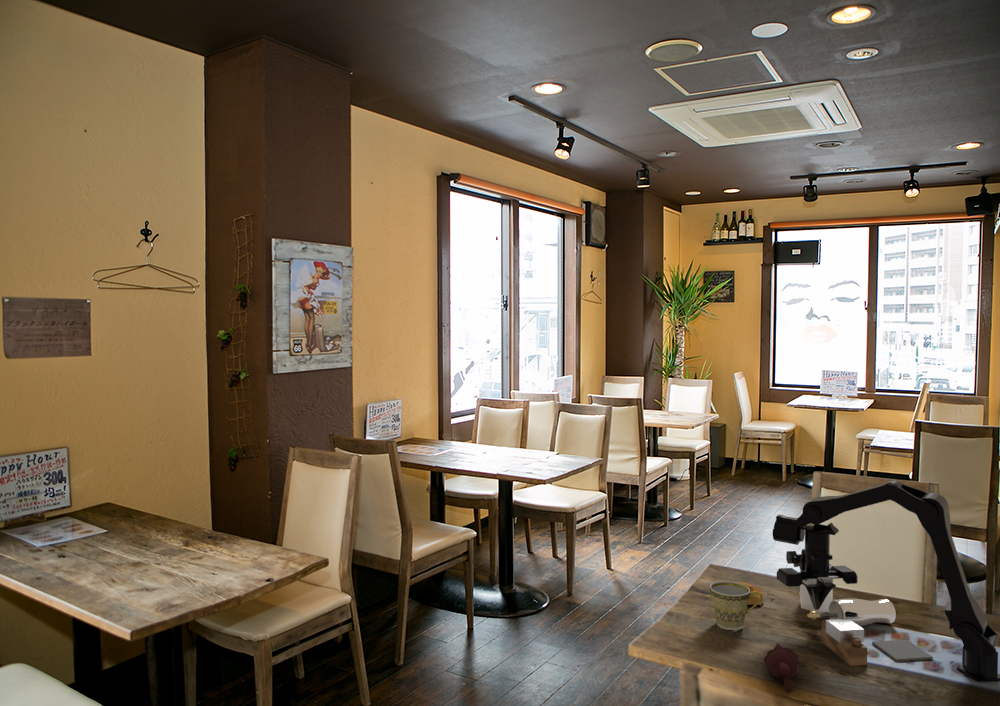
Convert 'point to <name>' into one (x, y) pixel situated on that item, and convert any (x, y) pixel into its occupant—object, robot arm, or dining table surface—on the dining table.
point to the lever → (821, 615)
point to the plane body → (846, 648)
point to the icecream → (782, 664)
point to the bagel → (754, 598)
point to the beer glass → (863, 611)
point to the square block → (844, 630)
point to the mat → (902, 650)
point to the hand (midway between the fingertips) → (816, 609)
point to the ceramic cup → (731, 603)
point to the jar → (806, 600)
